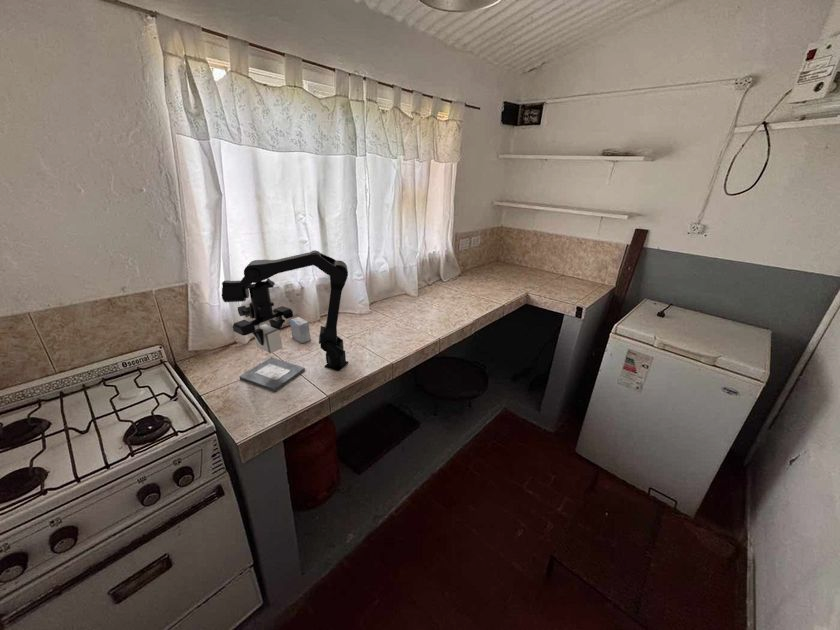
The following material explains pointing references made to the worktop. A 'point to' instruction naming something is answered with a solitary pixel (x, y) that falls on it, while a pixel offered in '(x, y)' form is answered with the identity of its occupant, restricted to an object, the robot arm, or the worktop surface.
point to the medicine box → (300, 330)
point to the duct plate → (272, 374)
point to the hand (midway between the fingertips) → (268, 342)
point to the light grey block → (270, 339)
